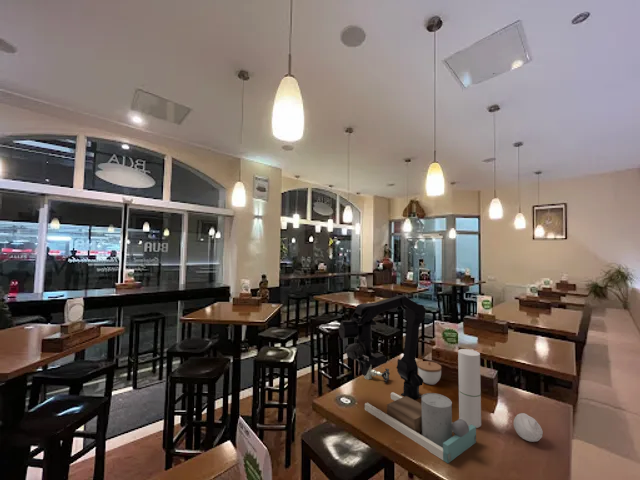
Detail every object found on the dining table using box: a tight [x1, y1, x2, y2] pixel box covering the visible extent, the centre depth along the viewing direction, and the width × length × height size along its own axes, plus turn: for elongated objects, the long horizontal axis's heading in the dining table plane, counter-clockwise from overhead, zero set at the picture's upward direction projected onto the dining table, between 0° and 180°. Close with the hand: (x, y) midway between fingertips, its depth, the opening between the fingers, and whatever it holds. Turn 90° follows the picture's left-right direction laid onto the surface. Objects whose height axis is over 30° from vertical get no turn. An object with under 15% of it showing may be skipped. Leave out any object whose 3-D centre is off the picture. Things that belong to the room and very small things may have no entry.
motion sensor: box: [513, 412, 544, 443], centre depth 95 cm, size 8×8×8 cm
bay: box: [364, 391, 477, 464], centre depth 102 cm, size 16×36×9 cm, turn 35°
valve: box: [363, 364, 390, 383], centre depth 139 cm, size 7×7×12 cm
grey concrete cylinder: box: [420, 392, 453, 448], centre depth 96 cm, size 10×10×12 cm
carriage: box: [386, 396, 422, 434], centre depth 105 cm, size 11×12×5 cm
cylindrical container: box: [457, 348, 482, 429], centre depth 105 cm, size 7×7×25 cm
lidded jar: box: [417, 360, 442, 385], centre depth 138 cm, size 11×11×9 cm
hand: (364, 375), depth 116 cm, fingers closed
